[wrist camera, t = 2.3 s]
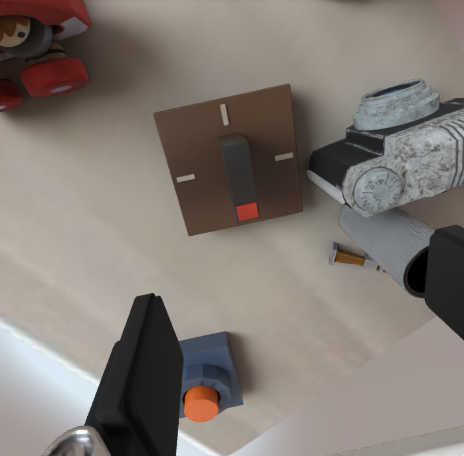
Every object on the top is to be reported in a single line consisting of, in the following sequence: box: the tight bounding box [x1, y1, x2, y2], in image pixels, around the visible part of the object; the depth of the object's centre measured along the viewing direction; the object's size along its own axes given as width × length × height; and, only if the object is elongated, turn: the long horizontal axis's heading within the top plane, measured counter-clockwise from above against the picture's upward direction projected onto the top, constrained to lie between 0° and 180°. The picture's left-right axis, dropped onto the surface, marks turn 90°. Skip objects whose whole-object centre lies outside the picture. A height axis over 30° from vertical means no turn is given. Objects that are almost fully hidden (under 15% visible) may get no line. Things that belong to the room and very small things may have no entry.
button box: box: [179, 332, 243, 418], centre depth 33 cm, size 10×8×4 cm
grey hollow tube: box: [339, 205, 436, 298], centre depth 24 cm, size 4×4×10 cm
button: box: [184, 386, 218, 422], centre depth 31 cm, size 4×4×2 cm
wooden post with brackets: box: [329, 242, 387, 273], centre depth 29 cm, size 2×8×4 cm, turn 83°
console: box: [153, 84, 303, 236], centre depth 24 cm, size 10×10×3 cm
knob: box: [218, 133, 261, 223], centre depth 20 cm, size 5×2×5 cm, turn 11°
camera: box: [306, 79, 464, 217], centre depth 21 cm, size 15×7×10 cm, turn 109°
